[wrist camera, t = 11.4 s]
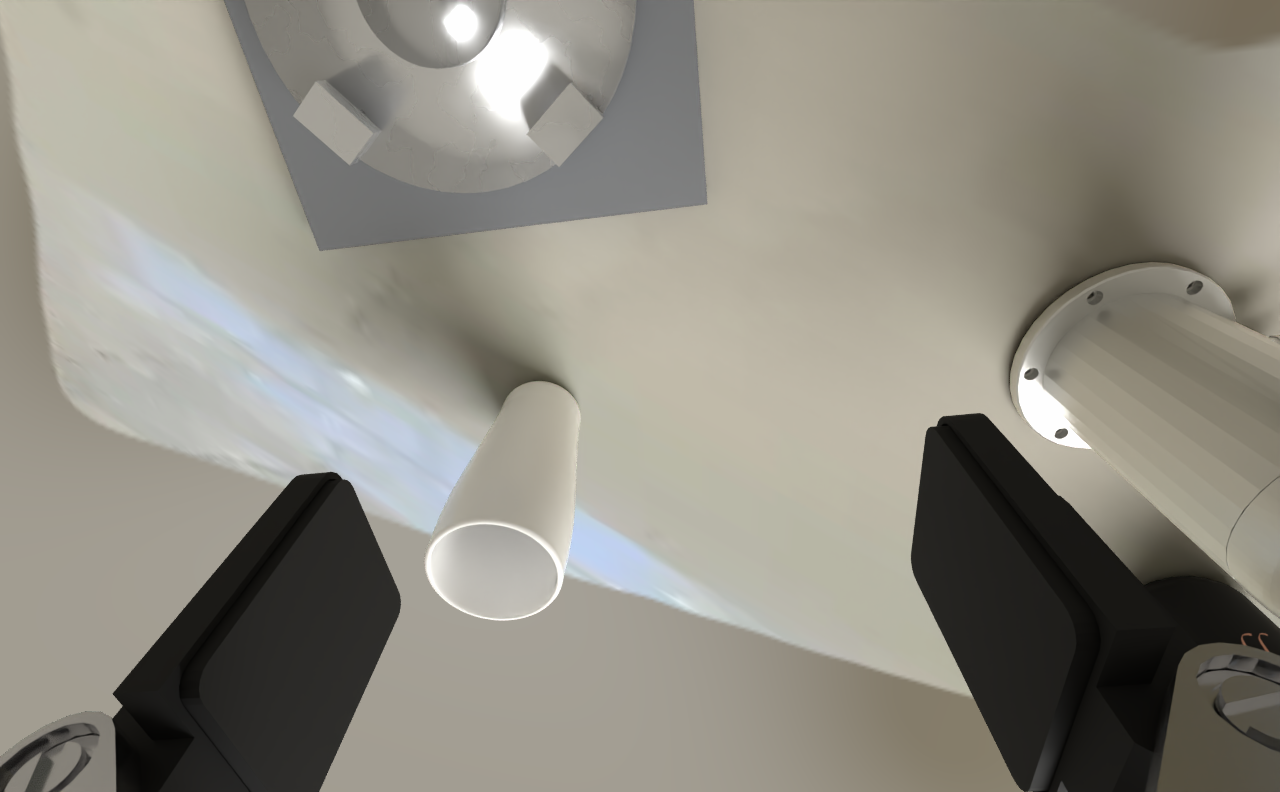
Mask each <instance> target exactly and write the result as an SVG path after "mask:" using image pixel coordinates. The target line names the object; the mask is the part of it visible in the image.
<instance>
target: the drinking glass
mask: <svg viewBox="0 0 1280 792" xmlns="http://www.w3.org/2000/svg"><path fill="white" fill-rule="evenodd" d="M580 424H581V414H580V409H579V406H578V404H577V402H576V400H575V399H574V398H573V396H572V395H571V394H570V393H569V392H568V391H567V390H565V389H564V388H562V387H560V386H559V385H556V384H554V383H550V382H545V381H532V382H528V383H524V384H522V385H520V386H518V387H517V388H515V389H514V390H513V391H512V392H511V393H510V394H509V395H508V396H507V398H506V399H505V401H504V403H503V406H502V408H501V410H500V413H499V414H498V416H497V418H496V419H495V421H494V423H493V424H492V426H491V428H490V429H489V431H488V432H487V434H486V436H485V437H484V439H483V441H482V442H481V444H480V445H479V447H478V449H477V450H476V452H475V453H474V455H473V457H472V458H471V460H470V461H469V463H468V465H467V466H466V468H465V469H464V471H463V473H462V474H461V476H460V478H459V479H458V481H457V483H456V484H455V486H454V488H453V490H452V492H451V493H450V495H449V497H448V499H447V501H446V503H445V505H444V507H443V510H442V512H441V514H440V516H439V519H438V521H437V524H436V526H435V529H434V531H433V534H432V536H431V540H430V542H429V545H428V547H427V549H426V553H425V559H424V566H425V572H426V575H427V578H428V580H429V582H430V584H431V586H432V587H433V588H434V590H435V591H436V592H437V593H438V595H440V597H442V598H443V599H444V600H445V601H446V602H447V603H449V604H450V605H452V606H453V607H455V608H457V609H458V610H461V611H463V612H465V613H468V614H470V615H473V616H476V617H480V618H484V619H491V620H515V619H520V618H524V617H527V616H531V615H533V614H535V613H538V612H539V611H541V610H543V609H544V608H545V607H547V606H548V605H549V604H550V603H551V602H552V601H553V600H554V599H555V598H556V596H557V595H558V593H559V591H560V589H561V586H562V582H563V578H564V574H565V570H566V566H567V561H568V557H569V552H570V547H571V541H572V534H573V526H574V515H575V494H576V471H577V451H578V435H579V430H580Z"/></svg>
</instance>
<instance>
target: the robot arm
mask: <svg viewBox="0 0 1280 792" xmlns="http://www.w3.org/2000/svg"><path fill="white" fill-rule="evenodd" d="M1010 391H1011V396H1012V400H1013V404H1014V406H1015V407H1016V409H1017V411H1018V413H1019V415H1020V416H1021V417H1022V418H1023V420H1024V421H1025V422H1026V423H1027V424H1028V425H1029V426H1030V427H1031V428H1032V429H1033V430H1034V431H1036V432H1037V433H1038V434H1039V435H1040V436H1042V437H1043V438H1045V439H1047V440H1049V441H1051V442H1053V443H1056V444H1060V445H1064V446H1068V447H1073V448H1087V449H1091V448H1092V449H1093V450H1094V451H1095V452H1096V453H1097V454H1098V455H1099V456H1100V457H1101V458H1102V459H1104V460H1105V461H1106V462H1107V463H1108V464H1109V465H1110V466H1111V467H1112V468H1113V469H1114V470H1116V471H1117V472H1118V473H1119V474H1120V475H1121V476H1122V477H1123V478H1124V479H1125V480H1126V481H1128V482H1129V483H1130V484H1131V485H1132V486H1133V487H1134V488H1135V489H1136V490H1137V491H1138V492H1139V493H1141V494H1142V495H1143V496H1144V497H1145V498H1146V499H1147V500H1148V501H1149V502H1150V503H1151V504H1153V505H1154V506H1155V507H1156V508H1157V509H1158V510H1159V511H1160V512H1161V513H1162V514H1163V515H1165V516H1166V517H1167V518H1168V519H1169V520H1170V521H1171V522H1172V523H1173V524H1174V525H1175V526H1176V527H1178V528H1179V529H1180V530H1181V531H1182V532H1183V533H1184V534H1185V535H1186V536H1187V537H1188V538H1190V539H1191V540H1192V541H1193V542H1194V543H1195V544H1196V545H1197V546H1198V547H1199V548H1200V549H1202V550H1203V551H1204V552H1205V553H1206V554H1207V555H1208V556H1209V557H1210V558H1211V559H1212V560H1214V561H1215V562H1216V563H1217V564H1218V565H1219V566H1220V567H1221V568H1222V569H1223V570H1224V571H1225V572H1227V573H1228V574H1229V575H1230V576H1231V577H1232V578H1233V579H1234V580H1235V581H1236V582H1237V583H1238V584H1239V585H1240V586H1241V587H1242V588H1244V589H1245V590H1246V591H1247V592H1248V593H1249V594H1250V595H1251V596H1252V597H1253V598H1255V599H1256V600H1257V601H1258V602H1259V603H1260V604H1261V605H1262V606H1264V607H1265V608H1266V609H1267V610H1269V611H1270V612H1271V613H1273V614H1274V615H1275V616H1277V617H1278V618H1280V335H1275V336H1270V337H1267V336H1264V335H1262V334H1260V333H1258V332H1256V331H1254V330H1252V329H1250V328H1248V327H1245V326H1243V325H1241V324H1239V323H1237V322H1236V319H1235V313H1234V310H1233V307H1232V303H1231V300H1230V299H1229V298H1228V296H1227V295H1226V293H1225V292H1224V290H1223V289H1222V287H1220V286H1219V285H1218V284H1217V283H1215V282H1214V281H1213V280H1212V279H1210V278H1209V277H1207V276H1205V275H1203V274H1201V273H1198V272H1196V271H1194V270H1192V269H1189V268H1186V267H1183V266H1179V265H1176V264H1172V263H1159V262H1147V263H1138V264H1130V265H1126V266H1122V267H1119V268H1115V269H1111V270H1108V271H1105V272H1103V273H1101V274H1099V275H1096V276H1094V277H1092V278H1089V279H1087V280H1085V281H1084V282H1082V283H1080V284H1079V285H1077V286H1075V287H1074V288H1072V289H1070V290H1069V291H1067V292H1066V293H1065V294H1063V295H1062V296H1061V297H1060V298H1058V299H1057V300H1056V301H1055V302H1053V303H1052V304H1051V305H1050V306H1049V307H1048V308H1047V309H1046V310H1045V311H1044V312H1043V313H1042V314H1041V315H1040V316H1039V317H1038V318H1037V319H1036V321H1035V322H1034V323H1033V324H1032V326H1031V327H1030V329H1029V330H1028V332H1027V333H1026V335H1025V336H1024V338H1023V339H1022V341H1021V343H1020V345H1019V348H1018V350H1017V352H1016V354H1015V356H1014V360H1013V364H1012V368H1011V372H1010ZM911 564H912V570H913V573H914V576H915V579H916V581H917V583H918V585H919V587H920V589H921V591H922V593H923V595H924V597H925V599H926V601H927V603H928V605H929V608H930V610H931V612H932V614H933V616H934V618H935V620H936V622H937V624H938V626H939V628H940V630H941V632H942V634H943V636H944V638H945V640H946V642H947V644H948V646H949V648H950V650H951V652H952V654H953V657H954V659H955V661H956V663H957V665H958V667H959V669H960V671H961V673H962V675H963V677H964V679H965V681H966V683H967V685H968V687H969V689H970V691H971V693H972V695H973V697H974V699H975V701H976V703H977V706H978V708H979V710H980V712H981V714H982V716H983V718H984V720H985V722H986V724H987V726H988V728H989V730H990V732H991V734H992V736H993V738H994V740H995V742H996V744H997V746H998V748H999V750H1000V752H1001V754H1002V756H1003V759H1004V760H1005V763H1006V764H1007V767H1008V769H1009V771H1010V773H1011V775H1012V777H1013V779H1014V780H1015V782H1016V784H1017V785H1018V786H1019V788H1020V789H1021V790H1023V791H1024V792H1028V791H1029V792H1030V791H1033V792H1280V656H1279V655H1276V654H1274V653H1271V652H1267V651H1264V650H1260V649H1257V648H1253V647H1250V646H1246V645H1239V644H1230V643H1220V642H1219V643H1212V644H1204V645H1197V644H1196V643H1195V642H1194V641H1193V639H1192V638H1191V637H1190V636H1189V635H1188V634H1187V633H1186V632H1185V631H1184V630H1183V628H1182V627H1181V626H1180V625H1179V624H1178V623H1177V622H1176V621H1175V620H1174V619H1173V617H1172V616H1171V615H1170V614H1169V613H1168V612H1167V611H1166V610H1165V609H1164V608H1163V606H1162V605H1161V604H1160V603H1159V602H1158V601H1157V600H1156V599H1155V598H1154V597H1153V595H1152V594H1151V593H1150V592H1149V591H1148V590H1147V589H1146V588H1145V587H1144V586H1143V584H1142V583H1141V582H1140V581H1139V580H1138V579H1137V578H1136V577H1135V576H1134V575H1133V573H1132V572H1131V571H1130V570H1129V569H1128V568H1127V567H1126V566H1125V565H1124V563H1123V562H1122V561H1121V560H1120V559H1119V558H1118V557H1117V556H1116V555H1115V554H1114V552H1113V551H1112V550H1111V549H1110V548H1109V547H1108V546H1107V545H1106V544H1105V543H1104V541H1103V540H1102V539H1101V538H1100V537H1099V536H1098V535H1097V534H1096V533H1095V532H1094V530H1093V529H1092V528H1091V527H1090V526H1089V525H1088V524H1087V523H1086V522H1085V521H1084V519H1083V518H1082V517H1081V516H1080V515H1079V514H1078V513H1077V512H1076V511H1075V510H1074V508H1073V507H1072V506H1071V505H1070V504H1069V503H1068V502H1067V501H1065V500H1064V499H1063V498H1062V497H1061V496H1058V495H1057V494H1056V493H1055V492H1054V491H1053V490H1052V488H1051V487H1050V486H1049V485H1048V484H1047V483H1046V482H1045V481H1044V480H1043V478H1042V477H1041V476H1040V475H1039V474H1038V473H1037V472H1036V471H1035V470H1034V468H1033V467H1032V466H1031V465H1030V464H1029V463H1028V462H1027V461H1026V460H1025V458H1024V457H1023V456H1022V455H1021V454H1020V453H1019V452H1018V451H1017V450H1016V448H1015V447H1014V446H1013V445H1012V444H1011V443H1010V442H1009V441H1008V440H1007V438H1006V437H1005V436H1004V435H1003V434H1002V433H1001V432H1000V431H999V430H998V428H997V427H996V426H995V425H994V424H993V423H992V422H991V421H990V420H989V418H988V417H987V416H985V415H984V414H981V413H976V414H965V415H954V416H943V417H942V418H940V420H939V421H938V424H937V426H936V427H930V428H928V430H927V432H926V437H925V445H924V453H923V461H922V469H921V478H920V486H919V494H918V502H917V510H916V518H915V527H914V535H913V543H912V551H911ZM400 606H401V599H400V594H399V591H398V589H397V586H396V584H395V582H394V580H393V577H392V575H391V573H390V571H389V568H388V566H387V564H386V561H385V559H384V557H383V554H382V552H381V550H380V548H379V546H378V543H377V541H376V538H375V536H374V534H373V532H372V529H371V527H370V525H369V522H368V520H367V518H366V516H365V513H364V511H363V509H362V506H361V504H360V502H359V500H358V497H357V495H356V493H355V491H354V488H353V486H352V485H351V483H350V482H349V481H348V480H342V478H341V477H340V476H339V475H338V474H337V473H334V472H326V473H315V474H304V475H299V476H296V477H295V478H294V479H293V480H292V481H291V482H290V483H289V484H288V485H287V487H286V488H285V489H284V490H283V491H282V493H281V494H280V495H279V496H278V497H277V499H276V500H275V501H274V502H273V503H272V504H271V506H270V507H269V508H268V509H267V511H266V512H265V513H264V514H263V515H262V516H261V518H260V519H259V520H258V521H257V522H256V524H255V525H254V526H253V527H252V528H251V529H250V531H249V532H248V533H247V534H246V535H245V537H244V538H243V539H242V540H241V541H240V543H239V544H238V545H237V546H236V547H235V549H234V550H233V551H232V552H231V553H230V554H229V556H228V557H227V558H226V559H225V560H224V562H223V563H222V564H221V565H220V566H219V568H218V569H217V570H216V571H215V572H214V574H213V575H212V576H211V577H210V578H209V580H208V581H207V582H206V583H205V584H204V585H203V587H202V588H201V589H200V590H199V591H198V593H197V594H196V595H195V596H194V597H193V598H192V600H191V601H190V602H189V603H188V605H187V606H186V607H185V608H184V609H183V610H182V612H181V613H180V614H179V615H178V616H177V618H176V619H175V620H174V621H173V623H171V625H170V626H169V627H168V628H167V630H166V631H165V632H164V633H163V634H162V636H161V637H160V638H159V639H158V640H157V641H156V643H155V644H154V645H153V646H152V647H151V648H150V650H149V651H148V652H147V653H146V654H145V656H144V657H143V658H142V659H141V661H140V662H139V663H138V664H137V665H136V666H135V668H134V669H133V670H132V671H131V673H130V674H129V675H128V676H127V677H126V678H125V680H124V681H123V682H122V683H121V684H120V686H119V687H118V688H117V689H116V690H115V691H114V693H113V695H114V696H115V697H116V698H117V700H118V701H119V702H120V703H121V704H122V705H123V707H122V708H121V709H120V711H119V712H118V713H117V714H116V715H115V716H114V718H113V719H112V718H111V717H110V716H108V715H106V714H104V713H103V712H92V711H85V712H81V713H78V714H74V715H69V716H66V717H64V718H61V719H59V720H57V721H55V722H52V723H50V724H48V725H46V726H44V727H42V728H40V729H39V730H37V731H35V732H34V733H32V734H31V735H29V736H27V737H26V738H24V739H22V740H21V741H20V742H18V743H17V744H16V745H15V746H13V747H12V748H11V749H9V750H8V751H7V752H5V753H4V754H3V755H2V756H0V792H319V790H320V788H321V786H322V784H323V782H324V779H325V777H326V775H327V773H328V771H329V768H330V766H331V764H332V762H333V760H334V757H335V755H336V753H337V751H338V749H339V746H340V744H341V742H342V740H343V738H344V735H345V733H346V731H347V729H348V726H349V724H350V722H351V720H352V718H353V715H354V713H355V711H356V708H357V706H358V704H359V702H360V700H361V698H362V695H363V693H364V691H365V689H366V687H367V684H368V682H369V680H370V678H371V675H372V673H373V671H374V669H375V667H376V664H377V662H378V660H379V658H380V655H381V653H382V651H383V649H384V647H385V645H386V642H387V640H388V638H389V636H390V633H391V631H392V629H393V627H394V624H395V622H396V620H397V618H398V615H399V613H400Z"/></svg>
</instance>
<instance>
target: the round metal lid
mask: <svg viewBox="0 0 1280 792" xmlns="http://www.w3.org/2000/svg"><path fill="white" fill-rule="evenodd" d="M245 4H246V7H247V10H248V13H249V16H250V19H251V21H252V24H253V26H254V28H255V31H256V33H257V35H258V38H259V40H260V42H261V45H262V47H263V49H264V51H265V52H266V54H267V56H268V58H269V60H270V61H271V63H272V65H273V67H274V69H275V71H276V72H277V74H278V75H279V77H280V78H281V80H282V81H283V83H284V84H285V86H286V87H287V89H288V90H289V91H290V93H291V94H292V96H293V97H294V99H295V100H296V101H297V102H298V103H299V105H300V106H299V107H298V109H297V110H296V112H295V113H294V115H293V116H294V117H295V118H296V119H297V120H298V121H299V122H300V123H302V124H303V125H304V126H305V127H306V128H307V129H308V130H310V131H311V132H312V133H313V134H314V135H315V136H316V137H318V138H319V139H320V140H321V141H322V142H323V143H324V144H326V145H327V146H328V147H329V148H330V149H331V150H333V151H334V152H335V153H336V154H337V155H338V156H339V157H341V158H342V159H343V160H344V161H345V162H346V163H347V164H349V165H352V164H355V163H357V162H359V161H360V160H361V161H363V162H364V163H366V164H368V165H369V166H371V167H372V168H374V169H376V170H378V171H380V172H382V173H384V174H386V175H389V176H391V177H393V178H395V179H397V180H400V181H403V182H406V183H409V184H412V185H415V186H418V187H422V188H426V189H431V190H436V191H441V192H452V193H479V192H489V191H494V190H499V189H504V188H508V187H511V186H514V185H517V184H519V183H522V182H525V181H528V180H530V179H532V178H534V177H536V176H537V175H539V174H541V173H543V172H545V171H547V170H549V169H550V168H551V167H553V166H554V165H555V164H556V165H557V166H558V167H560V166H561V164H562V163H563V162H564V161H565V160H566V159H567V158H568V157H569V156H570V154H571V153H572V152H573V151H574V150H575V149H576V148H577V147H578V146H579V144H580V143H581V142H582V141H583V140H584V139H585V138H586V137H587V135H588V134H589V133H590V132H591V131H592V130H593V129H594V128H595V127H596V125H597V124H598V123H599V122H600V121H601V120H602V119H603V118H604V115H603V113H604V112H605V110H606V108H607V107H608V105H609V103H610V101H611V100H612V98H613V96H614V94H615V92H616V90H617V87H618V85H619V83H620V80H621V78H622V76H623V73H624V70H625V67H626V63H627V60H628V57H629V53H630V50H631V45H632V39H633V33H634V27H635V21H636V4H637V0H245Z"/></svg>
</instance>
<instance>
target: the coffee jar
mask: <svg viewBox="0 0 1280 792" xmlns="http://www.w3.org/2000/svg"><path fill="white" fill-rule="evenodd" d="M1144 587H1145V588H1146V589H1147V590H1148V591H1149V592H1150V593H1151V594H1152V595H1153V597H1154V598H1155V599H1156V600H1157V601H1158V602H1159V603H1160V604H1161V605H1162V606H1163V608H1164V609H1165V610H1166V611H1167V612H1168V613H1169V614H1170V615H1171V616H1172V617H1173V619H1174V620H1175V621H1176V622H1177V623H1178V624H1179V625H1180V626H1181V627H1182V628H1183V630H1184V631H1185V632H1186V633H1187V634H1188V635H1189V636H1190V637H1191V638H1192V639H1193V641H1194V642H1195V643H1196V644H1197V645H1204V644H1212V643H1219V642H1220V643H1230V644H1239V645H1246V646H1250V647H1253V648H1257V649H1260V650H1264V651H1267V652H1271V653H1274V654H1276V655H1279V656H1280V628H1279V627H1277V626H1276V625H1275V624H1274V623H1273V622H1272V621H1271V620H1270V619H1269V618H1268V617H1267V616H1266V615H1265V614H1263V613H1262V612H1261V611H1260V610H1259V609H1258V608H1257V607H1256V606H1255V605H1254V604H1253V603H1252V602H1251V601H1250V600H1248V599H1247V598H1246V597H1245V596H1244V595H1243V594H1242V593H1240V592H1239V591H1237V590H1235V589H1233V588H1231V587H1230V586H1228V585H1226V584H1223V583H1221V582H1215V581H1211V580H1209V579H1205V578H1199V577H1194V576H1184V577H1171V578H1167V579H1163V580H1159V581H1155V582H1152V583H1149V584H1147V585H1145V586H1144Z"/></svg>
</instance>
